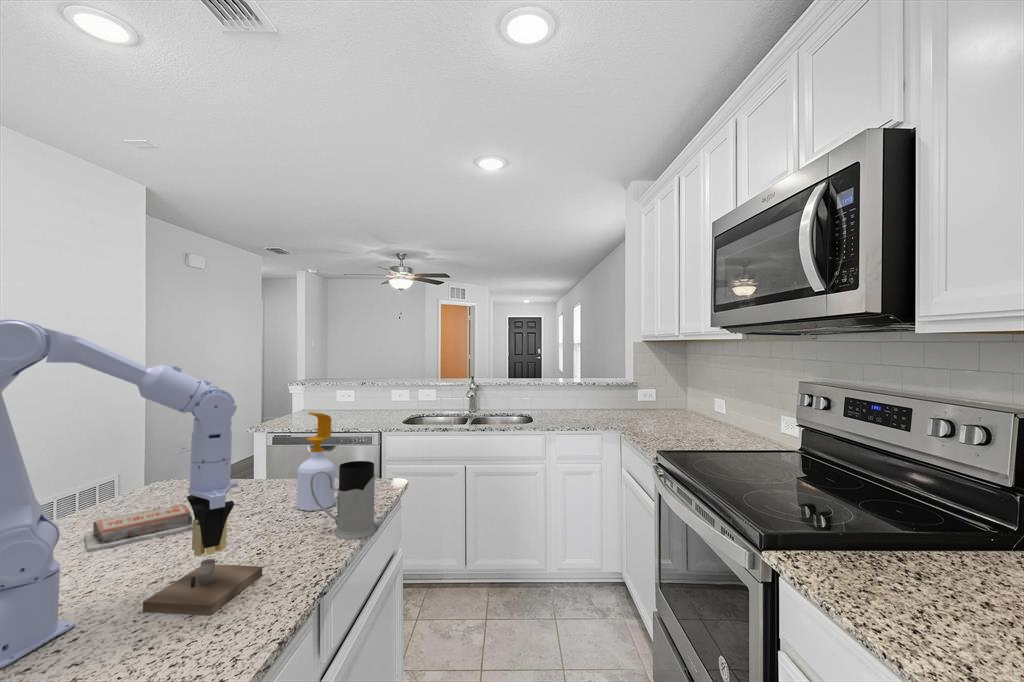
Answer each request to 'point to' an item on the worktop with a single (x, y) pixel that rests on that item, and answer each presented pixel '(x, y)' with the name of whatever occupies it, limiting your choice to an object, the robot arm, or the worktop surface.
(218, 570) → the post base
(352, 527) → the glass holder
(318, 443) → the soap bottle
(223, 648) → the worktop surface
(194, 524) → the wooden block ring
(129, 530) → the packaged product
